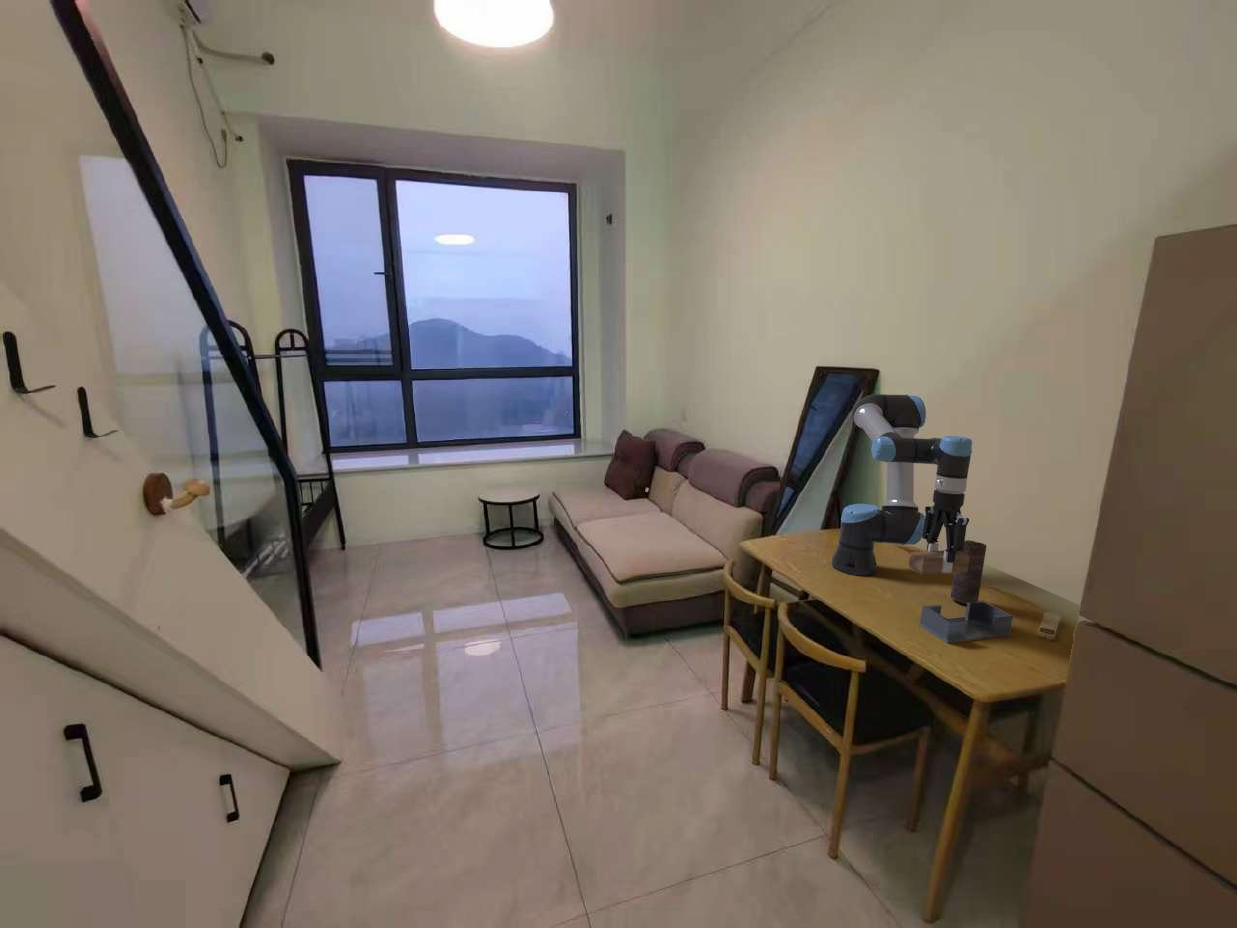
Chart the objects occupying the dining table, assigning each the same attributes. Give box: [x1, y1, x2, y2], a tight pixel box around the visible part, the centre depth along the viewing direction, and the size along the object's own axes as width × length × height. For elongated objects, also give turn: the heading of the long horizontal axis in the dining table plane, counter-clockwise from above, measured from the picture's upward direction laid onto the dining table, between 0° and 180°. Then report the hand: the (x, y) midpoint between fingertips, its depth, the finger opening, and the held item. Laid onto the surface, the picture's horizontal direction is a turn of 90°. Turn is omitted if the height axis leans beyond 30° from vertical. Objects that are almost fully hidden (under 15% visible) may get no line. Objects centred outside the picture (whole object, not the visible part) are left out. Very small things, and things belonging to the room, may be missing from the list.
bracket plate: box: [918, 599, 1014, 644], centre depth 150 cm, size 10×21×6 cm, turn 103°
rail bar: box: [907, 549, 970, 576], centre depth 154 cm, size 5×16×5 cm, turn 104°
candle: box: [950, 539, 987, 605], centre depth 166 cm, size 8×7×20 cm
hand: (938, 568), depth 155 cm, fingers closed on rail bar, 5 cm apart
